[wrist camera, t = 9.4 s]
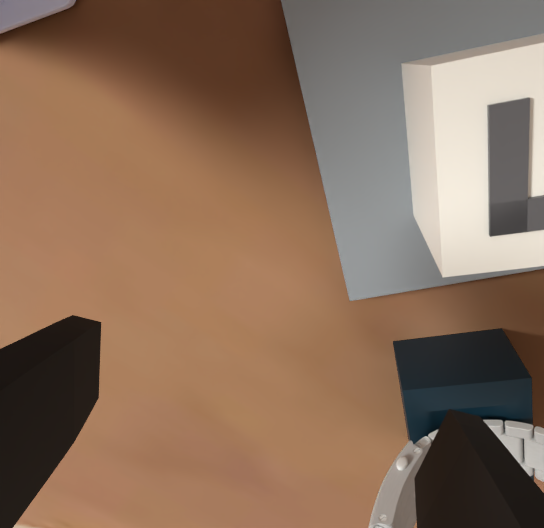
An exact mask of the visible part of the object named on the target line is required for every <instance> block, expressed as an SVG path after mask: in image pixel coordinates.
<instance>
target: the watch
mask: <svg viewBox="0 0 544 528" xmlns="http://www.w3.org/2000/svg"><path fill="white" fill-rule="evenodd" d="M393 345H394V352H395V358H396V364H397V371H398V377H399V383H400V389H401V396H402V402H403V408H404V414H405V421H406V427H407V433H408V439H409V442H408V443H407V444H406V445H405V447H404V448H403V449H402V451H401V452H400V453H399V455H398V456H397V458H396V459H395V461H394V462H393V464H392V466H391V467H390V469H389V471H388V472H387V474H386V476H385V478H384V480H383V483H382V485H381V487H380V490H379V492H378V495H377V498H376V501H375V504H374V508H373V511H372V515H371V519H370V523H369V528H413V527H414V525H415V522H416V520H417V517H416V503H415V482H414V478H415V476H416V474H417V472H418V470H419V468H420V466H421V464H422V462H423V460H424V458H425V456H426V454H427V452H428V450H429V448H430V446H431V444H432V442H433V440H434V438H435V436H436V434H437V432H438V430H439V428H440V426H441V424H442V422H443V420H444V418H445V416H446V414H447V412H448V410H449V409H452V410H456V411H460V412H464V413H468V414H472V415H476V416H480V418H481V419H482V420H483V421H484V422H485V423H486V424H487V425H488V426H489V428H490V429H491V430H492V431H493V432H494V433H495V435H496V436H497V437H498V438H499V439H500V441H501V442H502V443H503V444H504V446H505V447H506V448H507V449H508V450H509V452H510V453H511V454H512V455H513V456H514V458H515V459H516V460H517V461H518V463H519V464H520V465H521V466H522V467H523V469H524V470H525V471H526V472H527V474H528V475H529V476H530V477H531V478H532V480H533V481H534V468H535V477H536V478H537V479H539V480H541V481H544V428H542V427H538V426H536V427H535V428H534V426H533V416H532V378H531V376H530V374H529V373H528V371H527V369H526V368H525V366H524V364H523V363H522V361H521V359H520V358H519V356H518V354H517V353H516V351H515V349H514V348H513V346H512V344H511V343H510V341H509V339H508V338H507V336H506V335H505V333H504V331H503V330H502V328H501V329H493V330H485V331H476V332H468V333H460V334H451V335H443V336H435V337H426V338H418V339H410V340H401V341H393Z"/></svg>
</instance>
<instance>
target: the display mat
mask: <svg viewBox="0 0 544 528" xmlns="http://www.w3.org/2000/svg"><path fill="white" fill-rule="evenodd" d="M281 3H282V7H283V12H284V16H285V20H286V25H287V29H288V33H289V38H290V42H291V47H292V51H293V55H294V60H295V64H296V68H297V73H298V77H299V81H300V86H301V90H302V95H303V99H304V103H305V108H306V112H307V116H308V121H309V125H310V130H311V134H312V138H313V143H314V147H315V151H316V156H317V160H318V164H319V169H320V173H321V178H322V182H323V186H324V191H325V195H326V199H327V204H328V208H329V212H330V217H331V221H332V226H333V230H334V234H335V239H336V243H337V247H338V252H339V256H340V260H341V265H342V269H343V274H344V278H345V282H346V287H347V291H348V295H349V300H350V301H353V300H359V299H365V298H371V297H377V296H383V295H389V294H395V293H401V292H407V291H413V290H419V289H425V288H431V287H437V286H443V285H449V284H455V283H461V282H467V281H473V280H479V279H485V278H491V277H497V276H503V275H509V274H515V273H521V272H527V271H533V270H539V269H544V266H539V267H531V268H522V269H513V270H504V271H495V272H487V273H478V274H469V275H460V276H451V277H442V275H441V273H440V271H439V268H438V266H437V264H436V262H435V260H434V258H433V256H432V254H431V251H430V249H429V247H428V245H427V243H426V241H425V239H424V237H423V234H422V232H421V230H420V228H419V226H418V224H417V222H416V220H415V218H414V215H413V204H412V191H411V179H410V166H409V154H408V141H407V129H406V116H405V104H404V91H403V79H402V66H401V63H405V62H410V61H415V60H420V59H424V58H429V57H434V56H439V55H443V54H448V53H453V52H458V51H462V50H467V49H472V48H477V47H481V46H486V45H491V44H496V43H500V42H505V41H510V40H515V39H519V38H524V37H529V36H534V35H538V34H543V33H544V0H281Z"/></svg>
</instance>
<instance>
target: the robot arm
mask: <svg viewBox="0 0 544 528" xmlns="http://www.w3.org/2000/svg"><path fill="white" fill-rule="evenodd" d="M75 2H76V0H0V34H1V33H4V32H6V31H9V30H12V29H14V28H17V27H20V26H22V25H25V24H28V23H31V22H33V21H36V20H39V19H41V18H44V17H47V16H49V15H52V14H55V13H57V12H60V11H63V10H66V9H68V8H70V7H72V6H73V5H74V3H75ZM100 340H101V322H98V321H94V320H90V319H86V318H82V317H78V316H74V315H72V316H70V317H67V318H65V319H63V320H61V321H58V322H56V323H54V324H52V325H50V326H48V327H46V328H43V329H41V330H39V331H37V332H35V333H33V334H31V335H29V336H27V337H25V338H23V339H21V340H18V341H16V342H14V343H12V344H10V345H8V346H6V347H4V348H2V349H0V528H13V527H14V525H15V524H16V522H17V521H18V520H19V518H20V517H21V516H22V514H23V513H24V511H25V510H26V509H27V507H28V506H29V504H30V503H31V502H32V500H33V499H34V498H35V496H36V495H37V493H38V492H39V491H40V489H41V488H42V486H43V485H44V484H45V482H46V481H47V480H48V478H49V477H50V475H51V474H52V473H53V471H54V470H55V468H56V467H57V466H58V464H59V463H60V461H61V460H62V459H63V457H64V456H65V454H66V453H67V451H68V450H69V449H70V447H71V446H72V444H73V443H74V441H75V440H76V438H77V436H78V434H79V432H80V431H81V429H82V427H83V425H84V424H85V422H86V420H87V418H88V416H89V415H90V413H91V411H92V409H93V407H94V405H95V403H96V401H97V400H98V398H99V369H100ZM414 482H415V503H416V517H417V528H544V493H543V492H542V491H541V489H540V488H539V487H538V486H537V485H536V483H535V482H534V481H533V480H532V478H531V477H530V476H529V475H528V474H527V472H526V471H525V470H524V469H523V467H522V466H521V465H520V464H519V463H518V461H517V460H516V459H515V458H514V456H513V455H512V454H511V453H510V452H509V450H508V449H507V448H506V447H505V446H504V444H503V443H502V442H501V441H500V439H499V438H498V437H497V436H496V435H495V433H494V432H493V431H492V430H491V429H490V428H489V426H488V425H487V424H486V423H485V422H484V421H483V420H482V419H481V418H480V416H476V415H472V414H468V413H464V412H460V411H456V410H452V409H449V410H448V412H447V414H446V416H445V418H444V420H443V422H442V424H441V426H440V428H439V430H438V432H437V434H436V436H435V438H434V440H433V442H432V444H431V446H430V448H429V450H428V452H427V454H426V456H425V458H424V460H423V462H422V464H421V466H420V468H419V470H418V472H417V474H416V476H415V478H414Z"/></svg>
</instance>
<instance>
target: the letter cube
mask: <svg viewBox="0 0 544 528" xmlns="http://www.w3.org/2000/svg"><path fill="white" fill-rule="evenodd" d="M401 66H402V79H403V91H404V104H405V116H406V129H407V141H408V154H409V166H410V179H411V191H412V204H413V215H414V218H415V220H416V222H417V224H418V226H419V228H420V230H421V232H422V234H423V237H424V239H425V241H426V243H427V245H428V247H429V249H430V251H431V254H432V256H433V258H434V260H435V262H436V264H437V266H438V268H439V271H440V273H441V275H442V277H451V276H460V275H469V274H478V273H487V272H495V271H504V270H513V269H522V268H531V267H539V266H544V33H543V34H538V35H534V36H529V37H524V38H519V39H515V40H510V41H505V42H500V43H496V44H491V45H486V46H481V47H477V48H472V49H467V50H462V51H458V52H453V53H448V54H443V55H439V56H434V57H429V58H424V59H420V60H415V61H410V62H405V63H401Z"/></svg>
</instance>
